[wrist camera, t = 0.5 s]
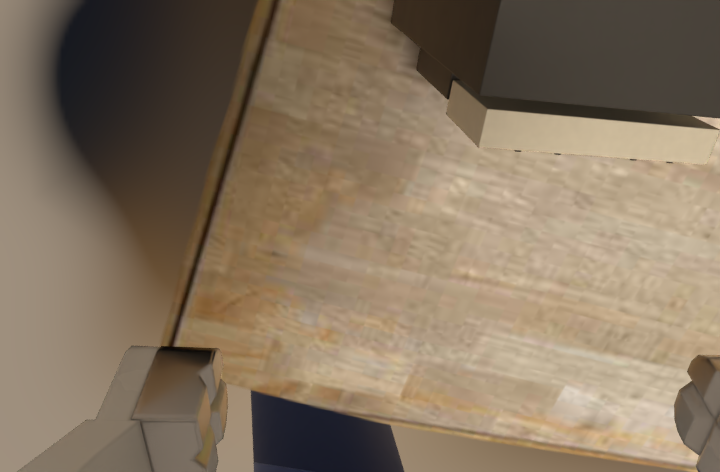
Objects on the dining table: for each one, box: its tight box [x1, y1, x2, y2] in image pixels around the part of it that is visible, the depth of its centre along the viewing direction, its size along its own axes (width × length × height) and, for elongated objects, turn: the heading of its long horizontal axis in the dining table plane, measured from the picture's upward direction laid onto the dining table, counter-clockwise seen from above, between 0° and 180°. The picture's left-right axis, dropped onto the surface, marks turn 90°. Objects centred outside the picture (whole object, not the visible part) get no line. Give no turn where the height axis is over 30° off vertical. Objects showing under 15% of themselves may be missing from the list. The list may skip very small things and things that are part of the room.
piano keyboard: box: [446, 80, 720, 165], centre depth 32 cm, size 2×12×5 cm, turn 82°
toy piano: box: [391, 0, 720, 118], centre depth 31 cm, size 9×16×15 cm, turn 82°
